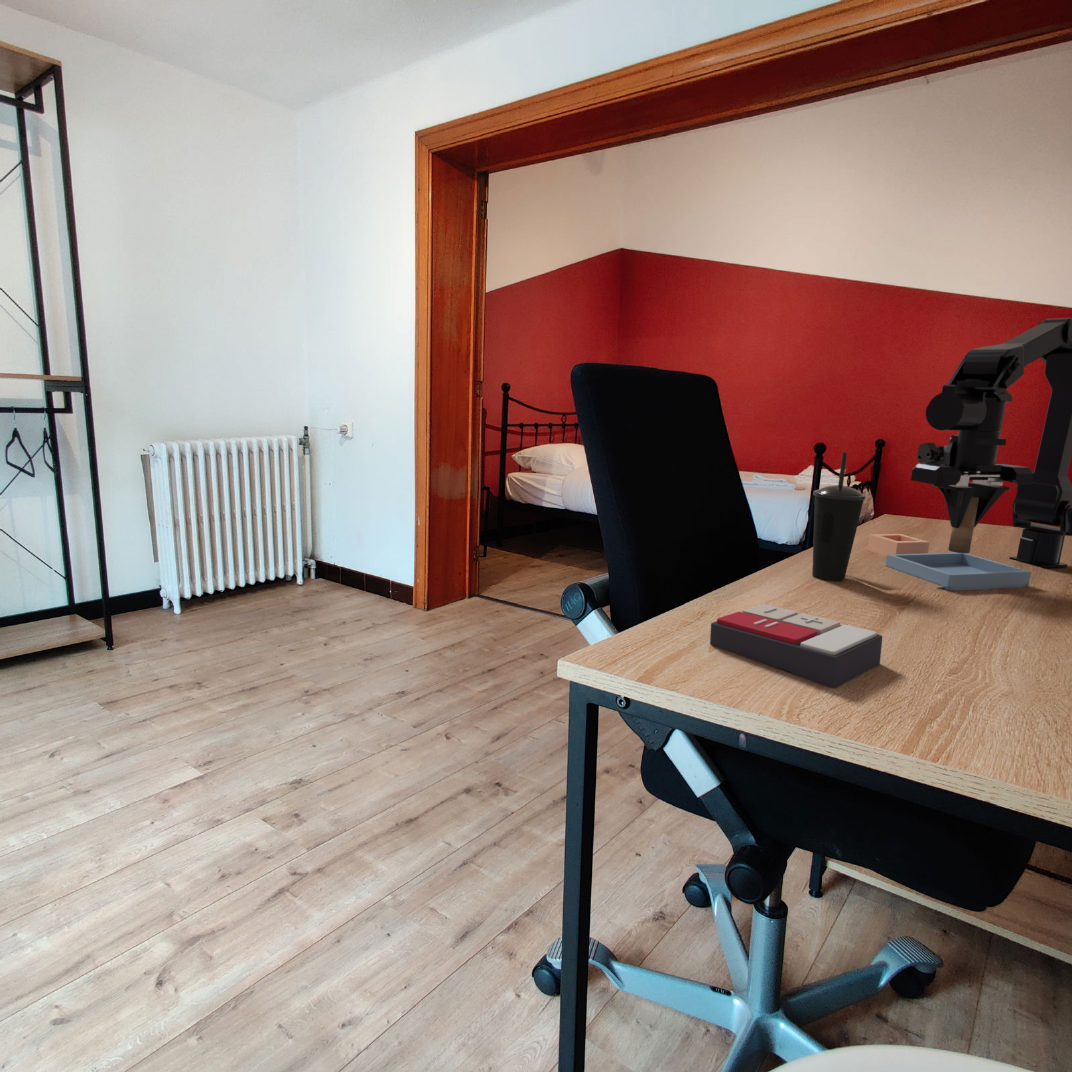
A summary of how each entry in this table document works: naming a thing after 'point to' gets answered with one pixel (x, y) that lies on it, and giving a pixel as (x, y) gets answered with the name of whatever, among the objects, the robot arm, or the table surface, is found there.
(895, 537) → the terracotta socket
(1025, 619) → the table surface
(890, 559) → the slate tray
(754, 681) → the table surface
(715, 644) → the calculator
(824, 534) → the drinking cup
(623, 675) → the table surface
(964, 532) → the walnut dowel
